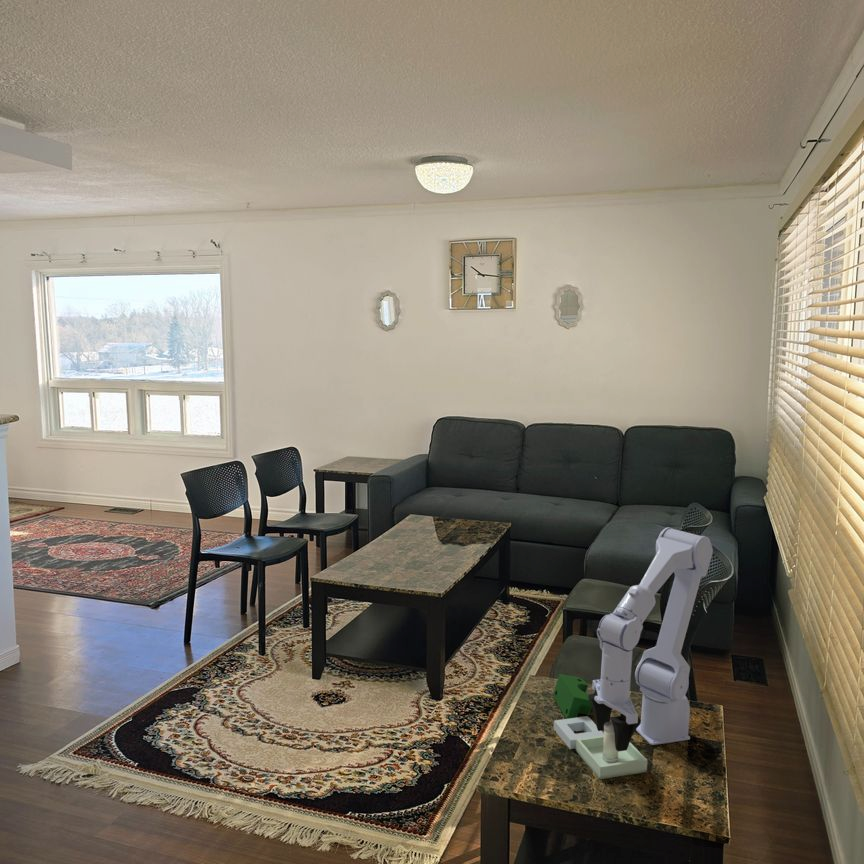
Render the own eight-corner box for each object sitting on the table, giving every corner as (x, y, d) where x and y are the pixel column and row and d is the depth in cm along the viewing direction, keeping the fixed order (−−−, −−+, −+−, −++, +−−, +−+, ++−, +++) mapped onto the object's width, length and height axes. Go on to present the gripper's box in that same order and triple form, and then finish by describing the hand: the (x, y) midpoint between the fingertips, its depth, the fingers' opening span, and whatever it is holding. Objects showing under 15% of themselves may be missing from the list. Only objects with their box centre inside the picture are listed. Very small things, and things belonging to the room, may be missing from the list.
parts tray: (620, 744, 161) (620, 732, 161) (646, 771, 152) (647, 760, 151) (575, 750, 158) (576, 739, 158) (599, 779, 149) (600, 767, 148)
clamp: (584, 735, 173) (600, 708, 168) (559, 730, 172) (575, 703, 167) (575, 691, 183) (590, 666, 179) (552, 686, 182) (566, 660, 178)
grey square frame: (587, 724, 169) (587, 716, 168) (605, 744, 161) (605, 735, 161) (553, 729, 166) (553, 720, 166) (570, 749, 159) (570, 740, 159)
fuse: (613, 753, 157) (615, 721, 156) (621, 761, 154) (622, 728, 153) (599, 755, 156) (601, 723, 155) (607, 763, 153) (608, 730, 152)
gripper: (580, 661, 158) (576, 723, 160) (616, 695, 144) (611, 762, 146) (611, 658, 160) (607, 719, 162) (649, 690, 146) (644, 757, 148)
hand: (611, 739), depth 154 cm, fingers open, 7 cm apart
